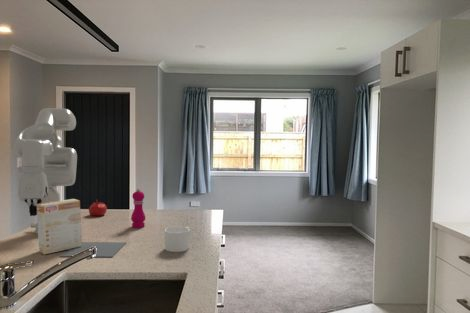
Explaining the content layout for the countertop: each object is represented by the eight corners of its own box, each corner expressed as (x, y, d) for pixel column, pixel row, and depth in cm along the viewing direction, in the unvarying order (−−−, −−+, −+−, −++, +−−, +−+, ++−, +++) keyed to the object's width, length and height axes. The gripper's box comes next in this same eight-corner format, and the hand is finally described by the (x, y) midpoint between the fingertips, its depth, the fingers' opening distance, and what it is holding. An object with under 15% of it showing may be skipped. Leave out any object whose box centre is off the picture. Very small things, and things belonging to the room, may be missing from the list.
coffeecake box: (75, 243, 159) (73, 198, 158) (82, 246, 154) (80, 200, 153) (38, 251, 149) (35, 203, 148) (44, 255, 144) (41, 205, 143)
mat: (60, 257, 142) (60, 256, 142) (79, 242, 161) (79, 242, 161) (112, 257, 143) (112, 256, 143) (126, 243, 162) (126, 242, 162)
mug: (178, 254, 148) (178, 234, 148) (159, 249, 154) (159, 230, 153) (199, 246, 160) (199, 227, 159) (180, 242, 165) (180, 224, 165)
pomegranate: (103, 217, 212) (103, 201, 212) (85, 217, 213) (85, 201, 212) (109, 213, 222) (109, 198, 222) (92, 213, 222) (92, 198, 222)
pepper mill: (132, 228, 187) (132, 189, 186) (129, 225, 194) (129, 187, 193) (147, 227, 191) (147, 188, 190) (143, 224, 197) (143, 187, 196)
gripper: (9, 170, 146) (10, 216, 147) (47, 171, 146) (47, 217, 147) (20, 169, 153) (20, 213, 154) (56, 169, 154) (56, 213, 155)
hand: (34, 215), depth 151 cm, fingers closed
